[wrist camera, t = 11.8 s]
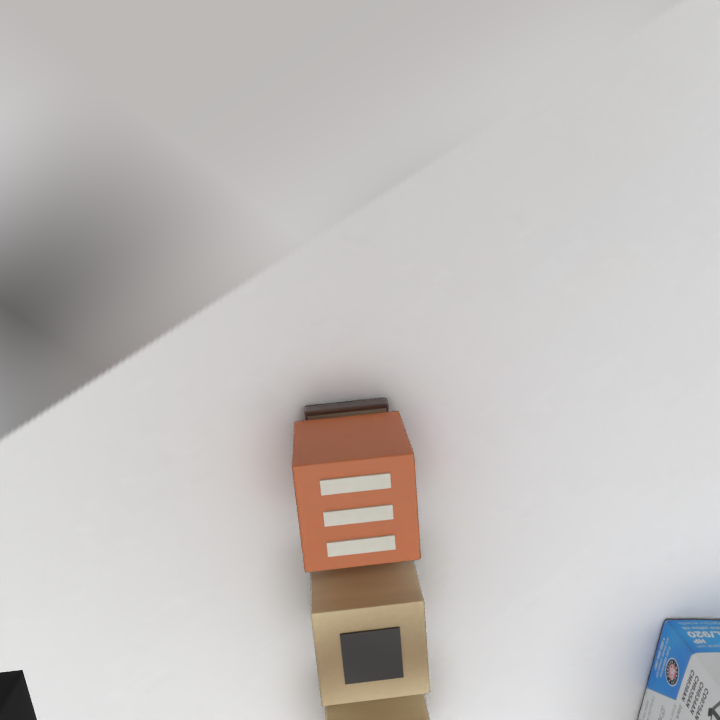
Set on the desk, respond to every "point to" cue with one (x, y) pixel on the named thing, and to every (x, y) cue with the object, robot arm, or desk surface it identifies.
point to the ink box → (685, 673)
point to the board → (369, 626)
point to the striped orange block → (355, 491)
